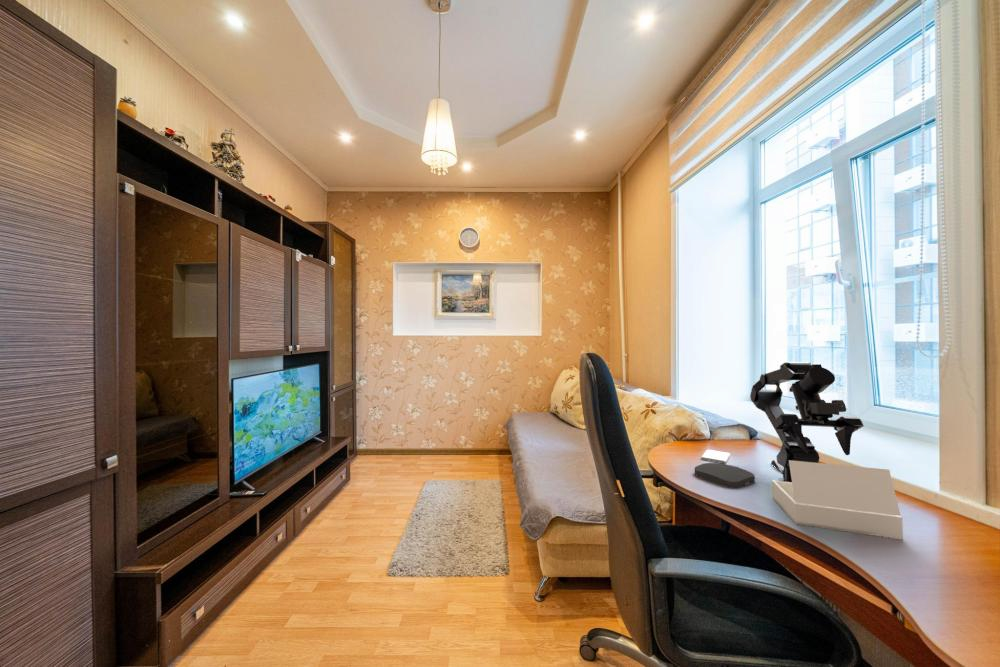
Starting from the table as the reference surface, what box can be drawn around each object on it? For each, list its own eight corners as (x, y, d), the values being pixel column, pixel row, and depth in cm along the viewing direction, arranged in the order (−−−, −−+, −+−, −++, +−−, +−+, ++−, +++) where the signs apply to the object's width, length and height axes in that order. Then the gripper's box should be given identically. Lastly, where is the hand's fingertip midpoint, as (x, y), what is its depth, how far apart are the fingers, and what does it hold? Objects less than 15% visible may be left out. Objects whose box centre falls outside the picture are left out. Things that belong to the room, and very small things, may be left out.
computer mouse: (791, 465, 130) (791, 454, 130) (821, 484, 113) (821, 472, 113) (760, 463, 133) (760, 452, 133) (784, 481, 116) (784, 469, 116)
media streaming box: (689, 475, 121) (689, 466, 121) (715, 467, 128) (715, 459, 128) (734, 491, 108) (733, 481, 108) (760, 482, 115) (759, 472, 115)
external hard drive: (701, 461, 136) (706, 452, 146) (726, 465, 131) (730, 456, 140) (700, 456, 136) (706, 448, 146) (725, 461, 131) (730, 452, 140)
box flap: (795, 502, 88) (788, 460, 92) (899, 515, 81) (888, 469, 85) (795, 502, 88) (789, 460, 91) (900, 515, 81) (889, 469, 84)
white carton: (772, 497, 103) (771, 480, 103) (861, 508, 96) (860, 490, 96) (795, 524, 88) (795, 503, 88) (903, 539, 81) (902, 517, 81)
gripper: (782, 387, 100) (799, 442, 92) (863, 389, 95) (889, 447, 87) (767, 402, 109) (782, 454, 101) (840, 405, 104) (862, 459, 96)
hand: (827, 453), depth 96 cm, fingers open, 9 cm apart
